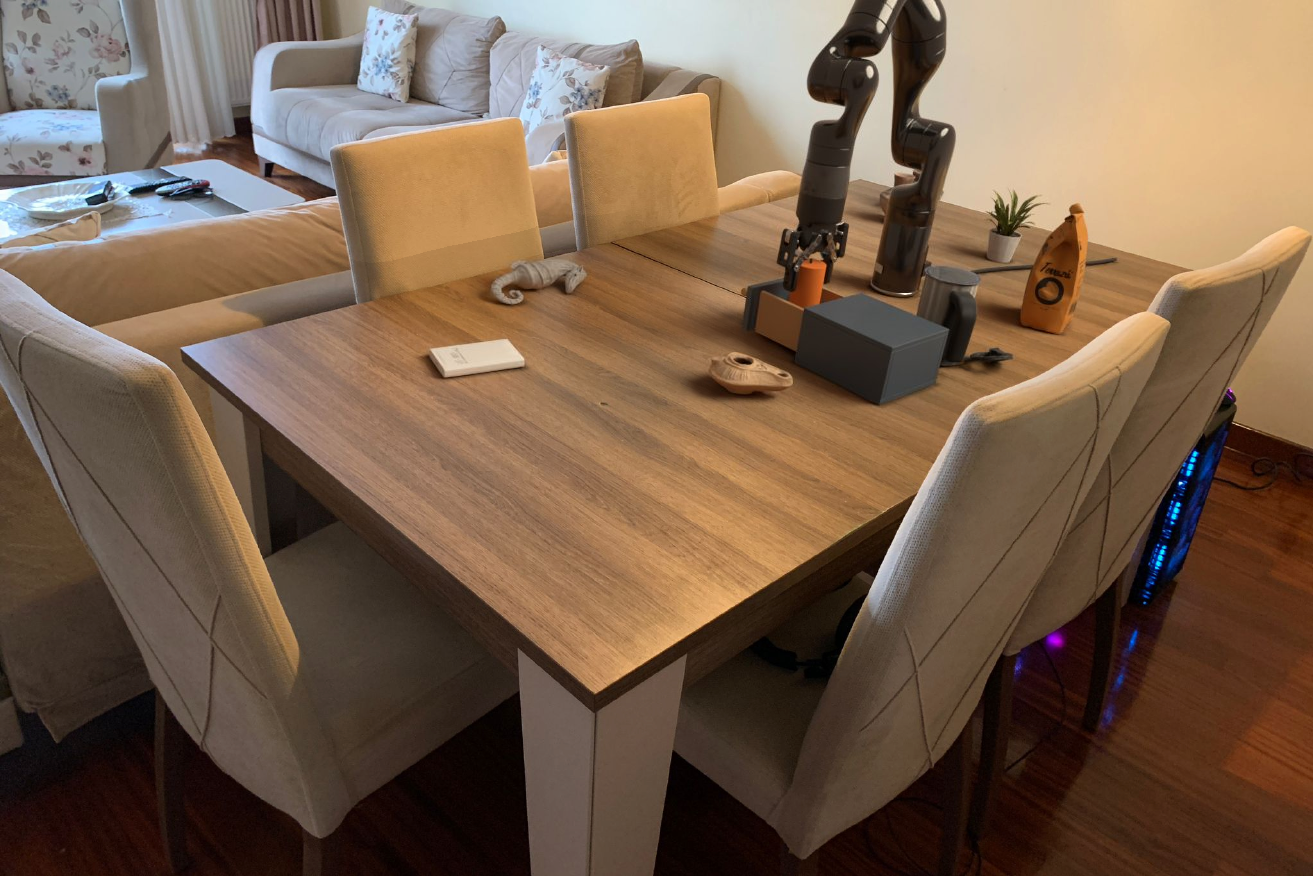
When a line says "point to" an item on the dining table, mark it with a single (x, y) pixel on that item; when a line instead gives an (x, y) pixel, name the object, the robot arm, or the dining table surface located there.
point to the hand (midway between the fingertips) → (806, 286)
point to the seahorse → (537, 277)
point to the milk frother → (954, 312)
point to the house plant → (1007, 228)
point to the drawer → (776, 311)
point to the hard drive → (476, 358)
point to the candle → (809, 283)
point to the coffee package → (1057, 276)
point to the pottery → (900, 180)
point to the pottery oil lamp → (747, 374)
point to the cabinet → (870, 347)
